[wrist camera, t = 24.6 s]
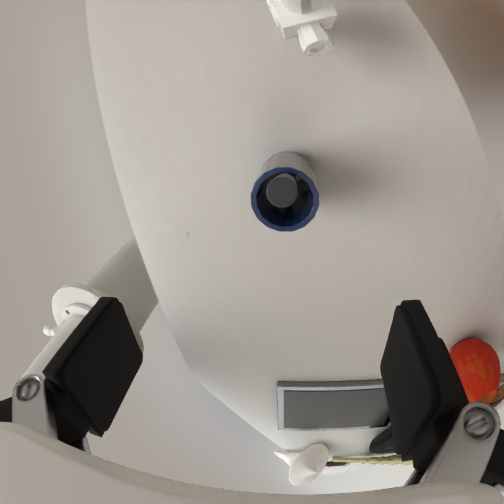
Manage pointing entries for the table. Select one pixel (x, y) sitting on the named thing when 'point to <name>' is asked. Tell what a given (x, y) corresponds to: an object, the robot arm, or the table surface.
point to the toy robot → (305, 22)
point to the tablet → (331, 405)
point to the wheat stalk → (375, 460)
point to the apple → (477, 369)
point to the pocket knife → (336, 464)
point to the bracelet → (498, 394)
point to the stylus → (282, 190)
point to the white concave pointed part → (305, 463)
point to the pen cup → (306, 193)
